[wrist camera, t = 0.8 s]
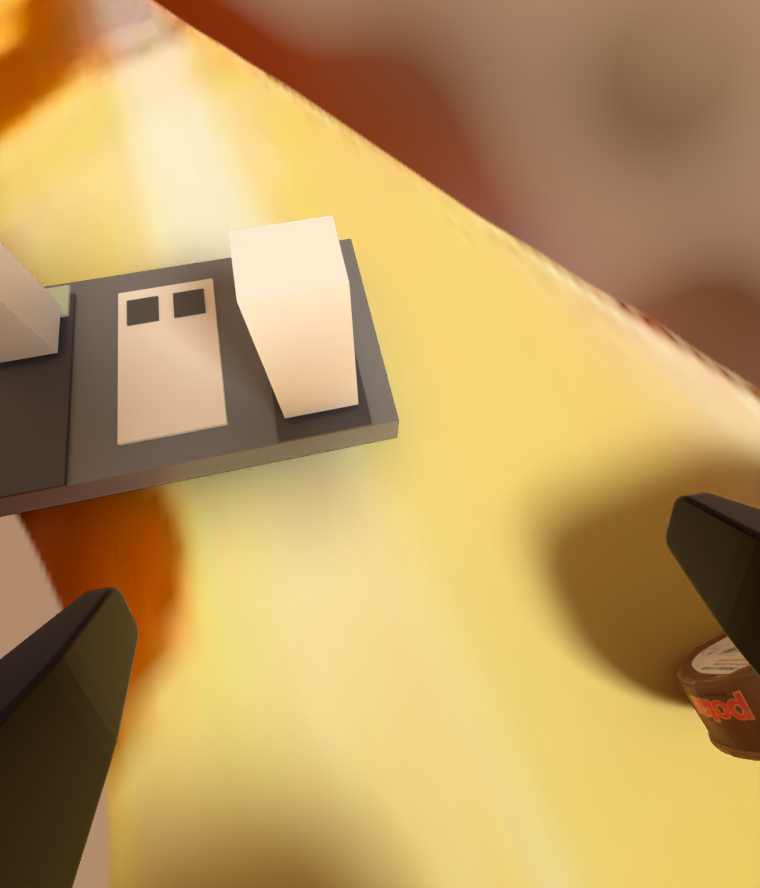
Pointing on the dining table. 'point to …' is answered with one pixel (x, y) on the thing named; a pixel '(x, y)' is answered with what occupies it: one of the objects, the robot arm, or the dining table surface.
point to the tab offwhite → (298, 311)
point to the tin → (724, 696)
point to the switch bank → (165, 391)
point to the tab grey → (25, 313)
